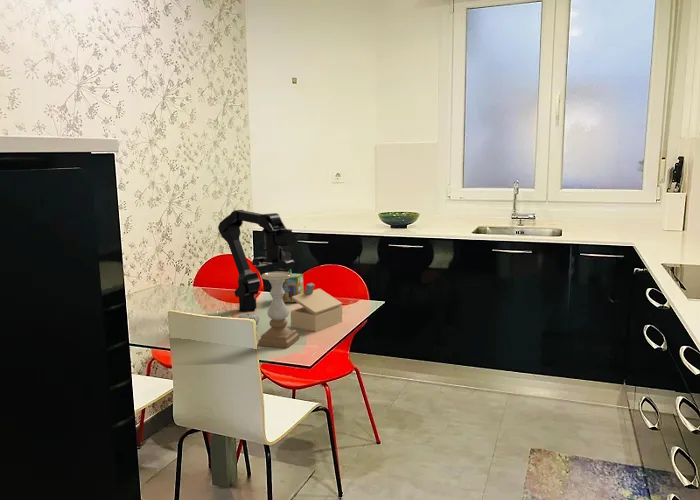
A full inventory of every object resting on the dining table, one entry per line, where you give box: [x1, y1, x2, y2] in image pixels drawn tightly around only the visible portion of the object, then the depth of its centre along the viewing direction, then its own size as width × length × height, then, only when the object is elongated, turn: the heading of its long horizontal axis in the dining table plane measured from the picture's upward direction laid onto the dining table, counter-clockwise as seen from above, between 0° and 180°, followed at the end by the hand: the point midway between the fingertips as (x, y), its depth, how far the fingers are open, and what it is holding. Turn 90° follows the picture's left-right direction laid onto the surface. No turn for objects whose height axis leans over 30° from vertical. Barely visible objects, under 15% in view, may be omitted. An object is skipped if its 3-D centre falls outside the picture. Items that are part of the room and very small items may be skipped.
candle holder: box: [257, 270, 300, 349], centre depth 194 cm, size 11×11×24 cm
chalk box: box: [282, 269, 305, 304], centre depth 253 cm, size 9×9×15 cm
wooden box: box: [290, 305, 343, 333], centre depth 217 cm, size 12×16×6 cm
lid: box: [292, 282, 343, 315], centre depth 215 cm, size 12×16×5 cm
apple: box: [237, 312, 260, 326], centre depth 210 cm, size 8×8×7 cm
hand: (274, 283), depth 228 cm, fingers open, 9 cm apart
